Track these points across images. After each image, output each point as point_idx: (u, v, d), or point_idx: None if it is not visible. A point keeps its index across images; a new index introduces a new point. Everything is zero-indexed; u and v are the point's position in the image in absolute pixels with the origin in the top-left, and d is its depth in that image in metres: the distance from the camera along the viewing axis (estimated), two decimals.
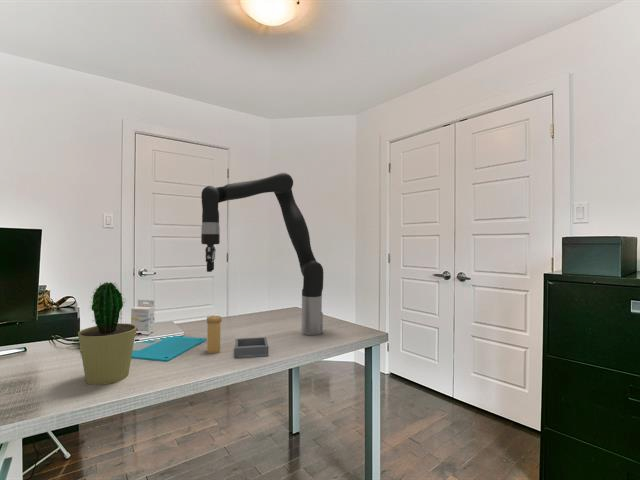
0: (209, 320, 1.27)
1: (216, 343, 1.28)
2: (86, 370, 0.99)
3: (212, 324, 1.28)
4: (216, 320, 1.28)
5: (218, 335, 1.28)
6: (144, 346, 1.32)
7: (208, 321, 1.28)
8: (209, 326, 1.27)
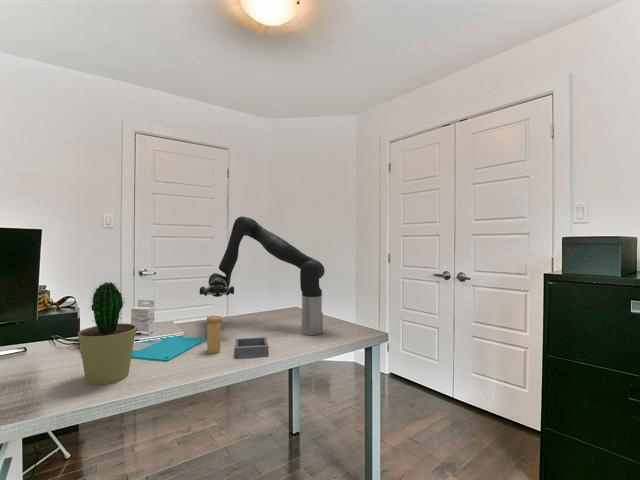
0: (209, 320, 1.27)
1: (216, 343, 1.28)
2: (86, 370, 0.99)
3: (212, 324, 1.28)
4: (216, 320, 1.28)
5: (218, 335, 1.28)
6: (144, 346, 1.32)
7: (208, 321, 1.28)
8: (209, 326, 1.27)
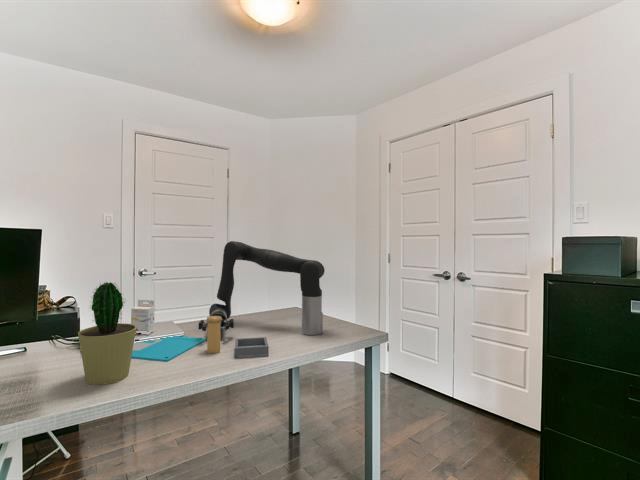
0: (209, 320, 1.27)
1: (216, 343, 1.28)
2: (86, 370, 0.99)
3: (212, 324, 1.28)
4: (216, 320, 1.28)
5: (218, 335, 1.28)
6: (144, 346, 1.32)
7: (208, 321, 1.28)
8: (209, 326, 1.27)
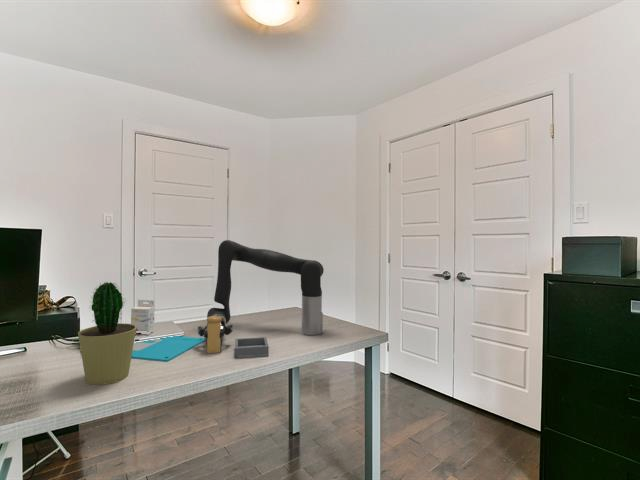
0: (209, 320, 1.27)
1: (216, 343, 1.28)
2: (86, 370, 0.99)
3: (212, 324, 1.28)
4: (216, 320, 1.28)
5: (218, 335, 1.28)
6: (144, 346, 1.32)
7: (208, 321, 1.28)
8: (209, 326, 1.27)
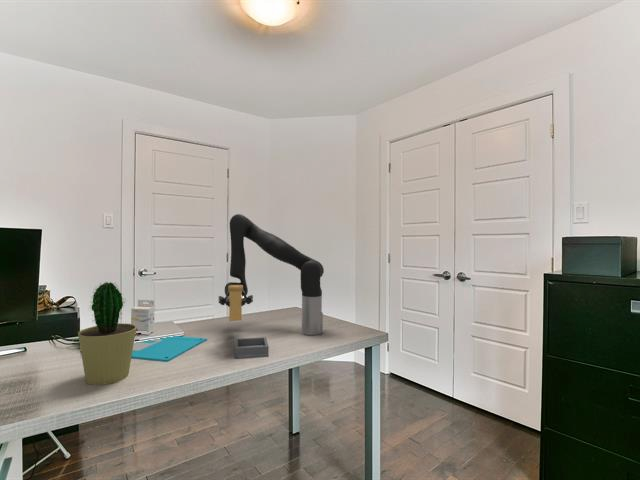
0: (231, 288, 1.27)
1: (238, 311, 1.27)
2: (86, 370, 0.99)
3: (234, 292, 1.27)
4: (238, 288, 1.27)
5: (240, 303, 1.28)
6: (144, 346, 1.32)
7: (230, 289, 1.27)
8: (231, 294, 1.27)
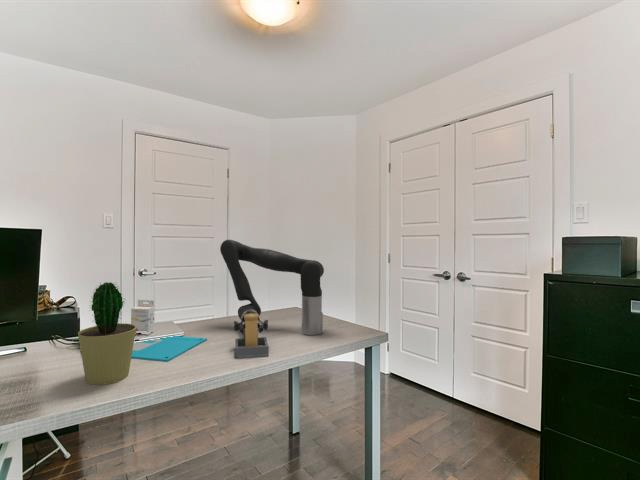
0: (247, 317, 1.27)
1: (254, 340, 1.27)
2: (86, 370, 0.99)
3: (250, 321, 1.27)
4: (254, 317, 1.27)
5: (256, 332, 1.28)
6: (144, 346, 1.32)
7: (246, 318, 1.27)
8: (247, 323, 1.27)
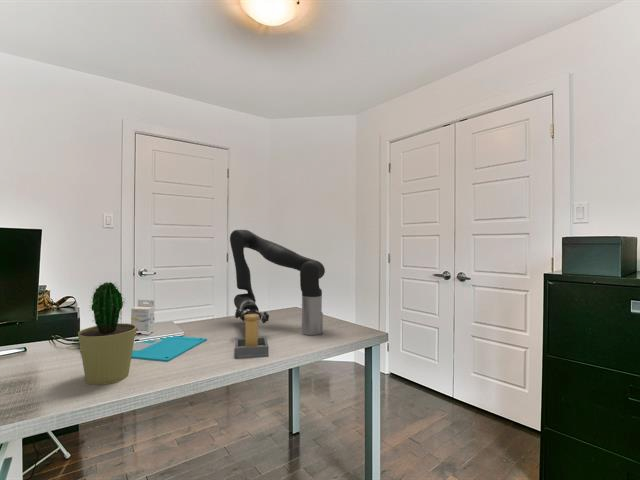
0: (247, 318, 1.27)
1: (254, 341, 1.27)
2: (86, 370, 0.99)
3: (250, 322, 1.27)
4: (254, 318, 1.27)
5: (256, 333, 1.27)
6: (144, 346, 1.32)
7: (246, 319, 1.27)
8: (247, 324, 1.27)
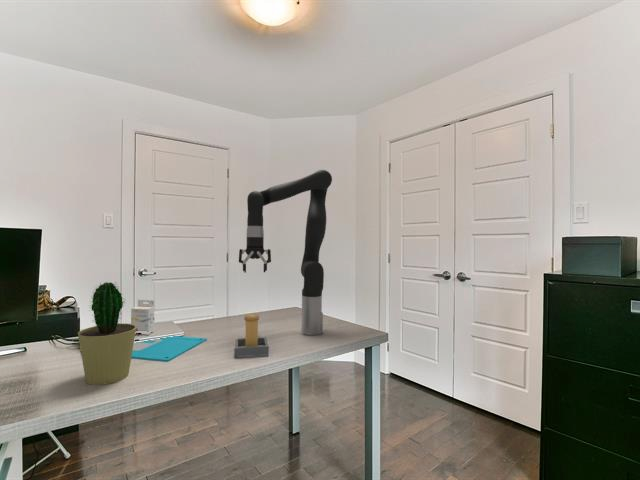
0: (247, 318, 1.27)
1: (254, 341, 1.27)
2: (86, 370, 0.99)
3: (250, 322, 1.27)
4: (254, 318, 1.27)
5: (256, 333, 1.27)
6: (144, 346, 1.32)
7: (246, 319, 1.27)
8: (247, 324, 1.27)
